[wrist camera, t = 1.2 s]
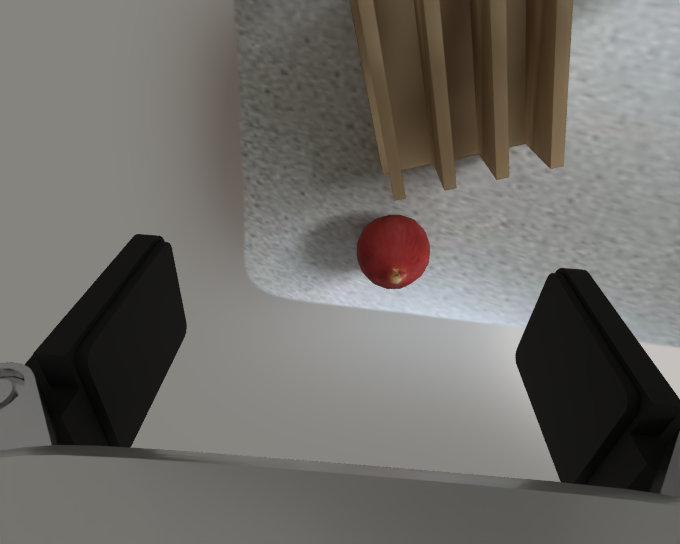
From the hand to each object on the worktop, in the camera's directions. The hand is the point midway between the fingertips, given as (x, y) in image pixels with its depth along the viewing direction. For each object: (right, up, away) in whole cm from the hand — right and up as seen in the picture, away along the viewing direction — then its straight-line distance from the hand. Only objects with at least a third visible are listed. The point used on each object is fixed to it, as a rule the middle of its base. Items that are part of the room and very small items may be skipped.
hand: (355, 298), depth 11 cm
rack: (+7, +15, +19) cm, 25 cm away
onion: (+4, +5, +27) cm, 27 cm away
